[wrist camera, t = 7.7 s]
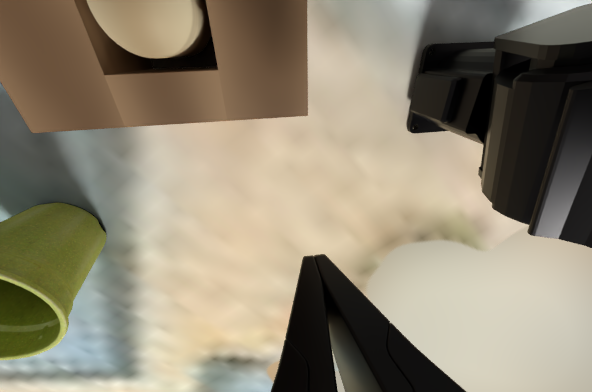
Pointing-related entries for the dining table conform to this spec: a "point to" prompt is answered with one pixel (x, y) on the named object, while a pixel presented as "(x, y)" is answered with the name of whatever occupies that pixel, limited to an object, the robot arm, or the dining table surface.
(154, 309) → the dining table surface
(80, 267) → the plant pot
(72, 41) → the jig block
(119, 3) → the peg
